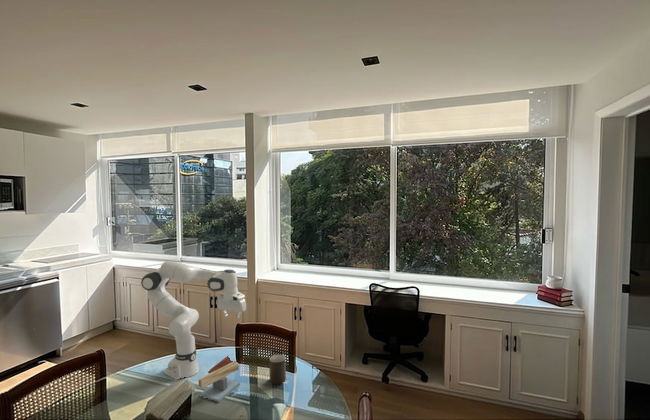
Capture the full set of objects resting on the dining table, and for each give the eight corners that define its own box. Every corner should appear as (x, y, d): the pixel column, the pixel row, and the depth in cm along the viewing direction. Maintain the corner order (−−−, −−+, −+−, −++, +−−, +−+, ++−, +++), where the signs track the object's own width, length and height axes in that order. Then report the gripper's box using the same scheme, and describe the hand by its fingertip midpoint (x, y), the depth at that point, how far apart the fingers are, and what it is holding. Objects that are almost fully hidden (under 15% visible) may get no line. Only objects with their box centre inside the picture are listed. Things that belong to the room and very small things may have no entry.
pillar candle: (278, 386, 201) (277, 362, 200) (266, 380, 207) (266, 357, 206) (289, 378, 208) (288, 355, 207) (278, 373, 214) (277, 350, 213)
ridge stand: (199, 396, 193) (199, 383, 192) (221, 379, 209) (220, 367, 209) (219, 402, 187) (218, 388, 186) (239, 384, 203) (239, 371, 203)
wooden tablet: (220, 376, 214) (220, 373, 214) (207, 373, 217) (207, 371, 217) (243, 355, 240) (242, 353, 240) (230, 353, 243) (230, 351, 243)
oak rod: (198, 386, 190) (198, 379, 189) (234, 367, 208) (234, 361, 208) (202, 388, 187) (202, 381, 187) (238, 369, 206) (238, 363, 205)
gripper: (214, 295, 214) (215, 316, 215) (240, 298, 205) (241, 320, 206) (221, 292, 219) (222, 313, 220) (247, 295, 211) (248, 317, 212)
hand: (231, 316), depth 213 cm, fingers open, 8 cm apart
